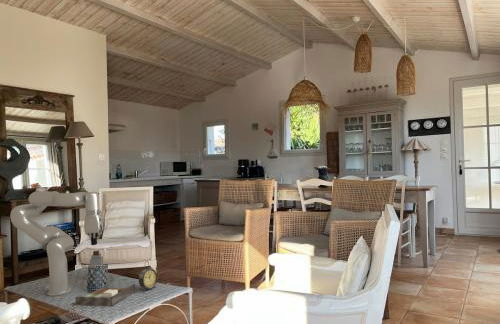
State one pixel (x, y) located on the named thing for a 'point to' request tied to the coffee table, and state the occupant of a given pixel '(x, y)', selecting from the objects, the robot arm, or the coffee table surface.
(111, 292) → the block
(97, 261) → the perfume bottle
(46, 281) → the coffee table surface
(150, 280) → the alarm clock
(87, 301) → the box
